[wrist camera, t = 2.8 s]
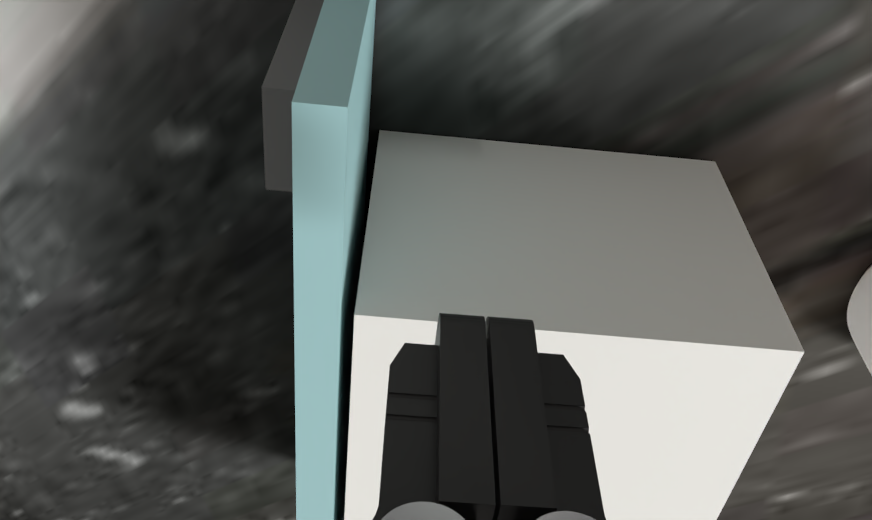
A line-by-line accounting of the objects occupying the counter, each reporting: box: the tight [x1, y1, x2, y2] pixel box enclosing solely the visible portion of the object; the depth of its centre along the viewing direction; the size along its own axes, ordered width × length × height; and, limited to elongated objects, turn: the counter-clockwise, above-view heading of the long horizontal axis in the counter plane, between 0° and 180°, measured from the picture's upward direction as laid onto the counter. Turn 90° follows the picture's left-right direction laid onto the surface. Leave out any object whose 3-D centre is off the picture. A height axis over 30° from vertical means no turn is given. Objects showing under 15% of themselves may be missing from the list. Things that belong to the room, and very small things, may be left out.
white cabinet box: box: [344, 130, 804, 520], centre depth 26 cm, size 17×10×9 cm, turn 174°
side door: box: [262, 0, 376, 520], centre depth 24 cm, size 21×2×8 cm, turn 174°
